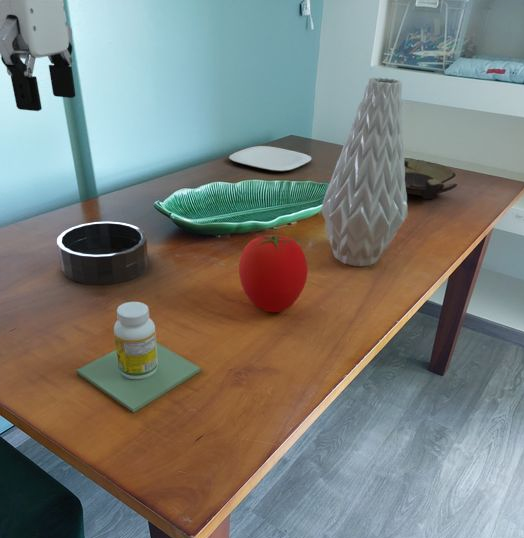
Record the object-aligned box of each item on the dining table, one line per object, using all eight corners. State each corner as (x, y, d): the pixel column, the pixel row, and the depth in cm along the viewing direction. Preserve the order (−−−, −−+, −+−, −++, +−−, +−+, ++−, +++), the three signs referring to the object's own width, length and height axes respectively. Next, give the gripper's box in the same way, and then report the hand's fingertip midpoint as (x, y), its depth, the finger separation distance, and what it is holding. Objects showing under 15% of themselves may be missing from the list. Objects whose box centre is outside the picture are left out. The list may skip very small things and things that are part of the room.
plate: (283, 178, 149) (284, 172, 148) (220, 163, 158) (220, 157, 157) (318, 161, 165) (319, 156, 164) (258, 148, 174) (259, 143, 173)
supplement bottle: (156, 380, 72) (151, 320, 67) (116, 380, 72) (107, 320, 66) (159, 357, 77) (155, 299, 71) (121, 357, 76) (114, 298, 71)
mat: (133, 413, 68) (133, 409, 67) (76, 373, 74) (76, 369, 73) (200, 371, 75) (200, 367, 75) (144, 338, 81) (144, 335, 81)
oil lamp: (453, 182, 155) (460, 155, 151) (453, 217, 131) (461, 186, 127) (377, 171, 160) (381, 145, 155) (363, 203, 136) (368, 173, 131)
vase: (399, 281, 102) (441, 92, 83) (312, 270, 103) (334, 83, 85) (395, 245, 115) (431, 77, 96) (319, 236, 117) (339, 69, 98)
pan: (96, 294, 92) (92, 265, 88) (45, 265, 99) (39, 237, 96) (165, 265, 102) (163, 238, 99) (113, 241, 109) (110, 215, 106)
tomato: (316, 312, 91) (326, 241, 83) (267, 331, 85) (272, 258, 77) (274, 285, 98) (279, 218, 90) (226, 302, 92) (227, 231, 84)
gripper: (30, -51, 71) (52, 90, 81) (-53, -59, 57) (-14, 113, 67) (84, -47, 70) (99, 94, 80) (12, -55, 56) (42, 118, 66)
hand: (48, 102), depth 74 cm, fingers open, 9 cm apart
